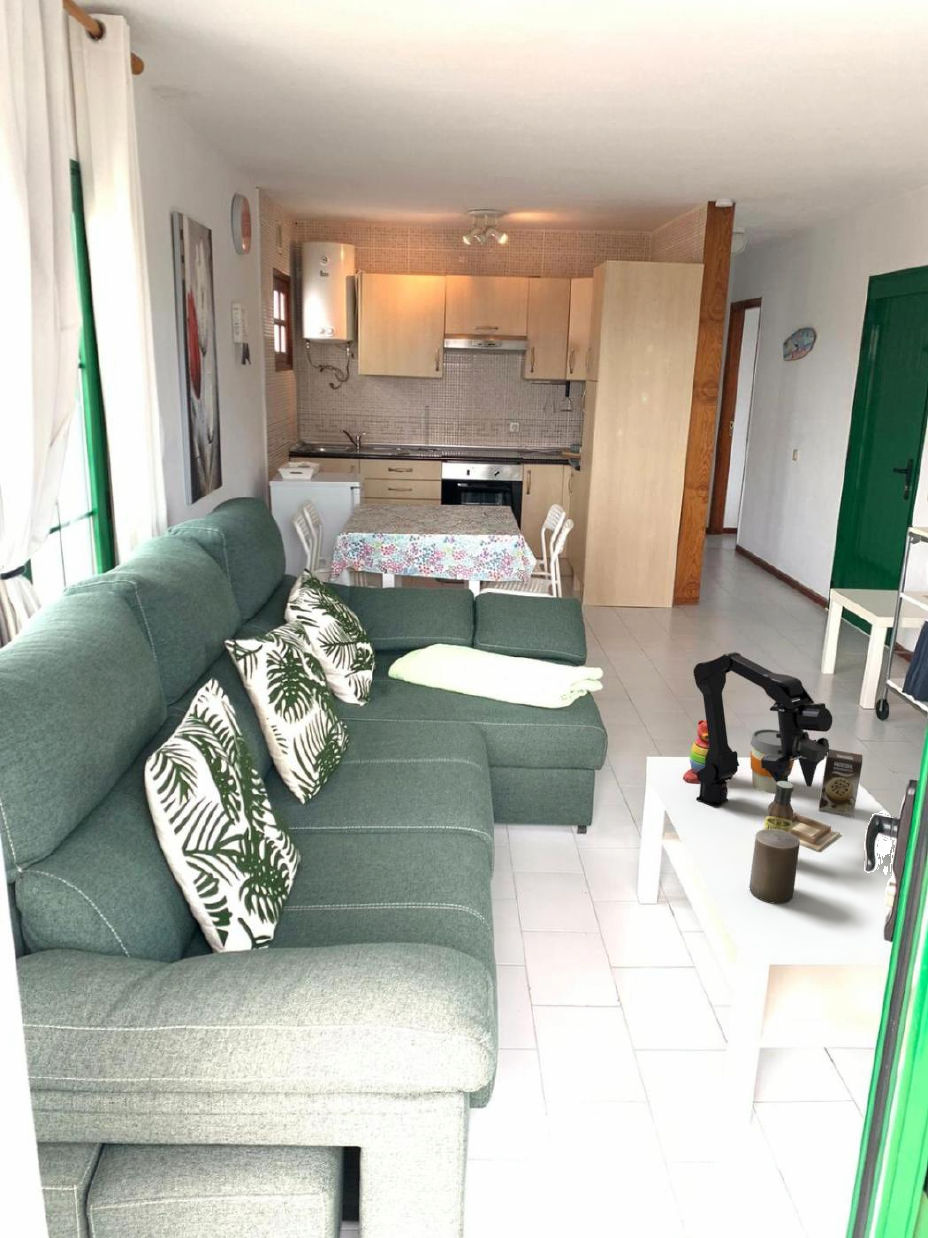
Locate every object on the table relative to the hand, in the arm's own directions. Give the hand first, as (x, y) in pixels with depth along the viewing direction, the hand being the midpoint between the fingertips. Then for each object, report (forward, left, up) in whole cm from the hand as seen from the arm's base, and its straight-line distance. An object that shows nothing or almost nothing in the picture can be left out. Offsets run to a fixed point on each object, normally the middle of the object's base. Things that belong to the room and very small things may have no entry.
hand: (797, 790), depth 241 cm
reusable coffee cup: (-20, +26, -14) cm, 36 cm away
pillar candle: (+8, -27, -14) cm, 31 cm away
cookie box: (0, +26, -14) cm, 30 cm away
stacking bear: (-35, +16, -14) cm, 41 cm away
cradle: (0, +6, -14) cm, 15 cm away
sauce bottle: (+1, -12, -14) cm, 18 cm away
